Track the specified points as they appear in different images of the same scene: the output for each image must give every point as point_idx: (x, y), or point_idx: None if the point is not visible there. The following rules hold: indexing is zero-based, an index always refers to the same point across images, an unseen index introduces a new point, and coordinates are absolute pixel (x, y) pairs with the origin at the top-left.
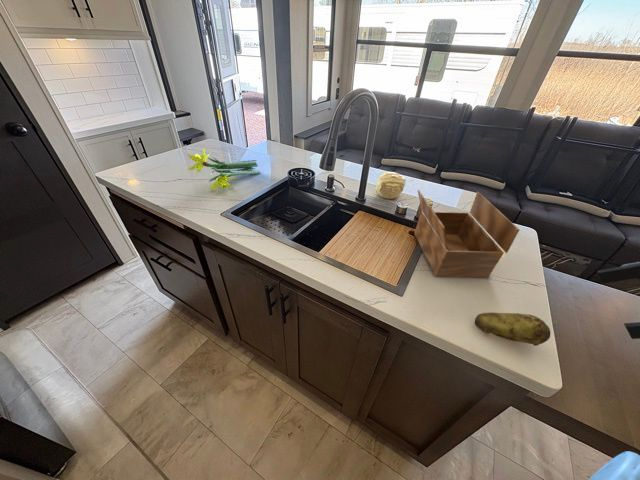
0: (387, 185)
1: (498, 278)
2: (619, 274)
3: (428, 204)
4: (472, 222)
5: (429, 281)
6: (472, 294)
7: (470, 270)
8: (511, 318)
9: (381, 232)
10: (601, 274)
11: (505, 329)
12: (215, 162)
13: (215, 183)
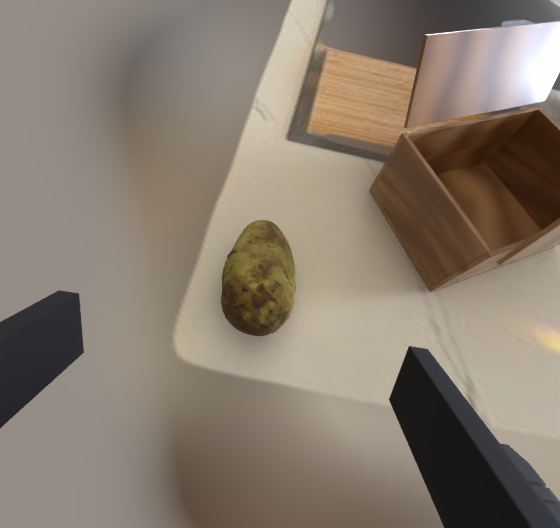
0: None
1: (440, 315)
2: (429, 423)
3: (521, 25)
4: None
5: (347, 179)
6: (351, 249)
7: (413, 236)
8: (260, 250)
9: None
10: (408, 359)
11: (236, 246)
12: None
13: None
